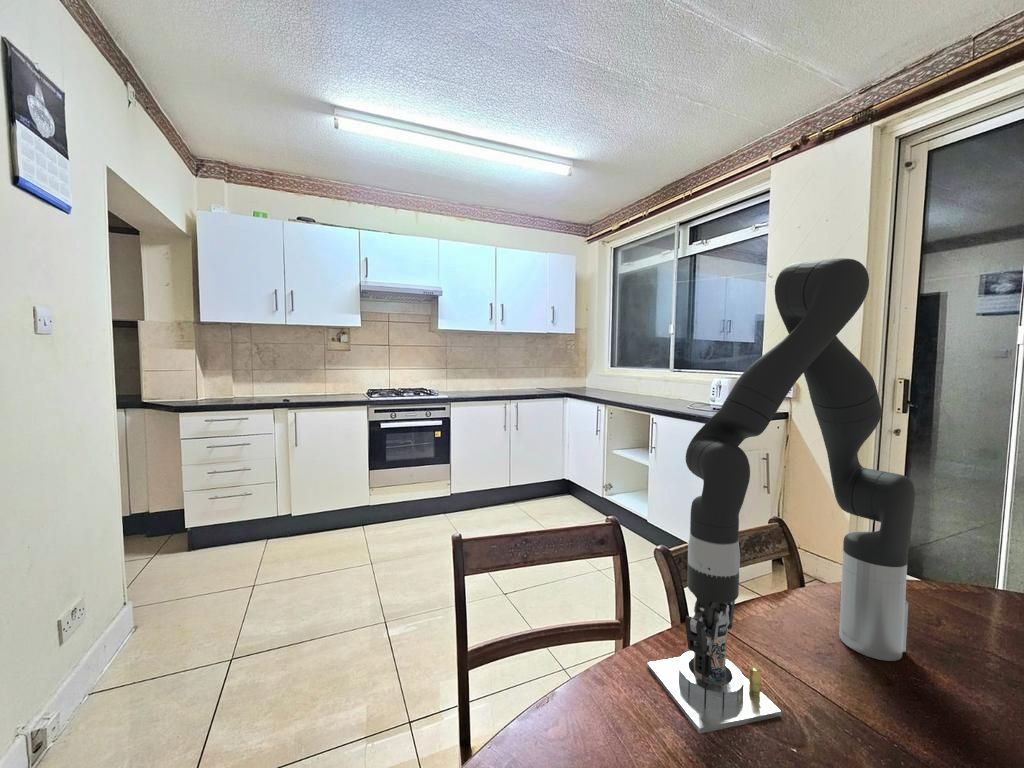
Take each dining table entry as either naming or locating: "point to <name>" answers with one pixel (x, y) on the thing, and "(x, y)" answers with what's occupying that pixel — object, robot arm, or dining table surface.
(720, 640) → the beer can
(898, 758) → the dining table surface
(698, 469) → the robot arm
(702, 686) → the flange collar
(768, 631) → the dining table surface
